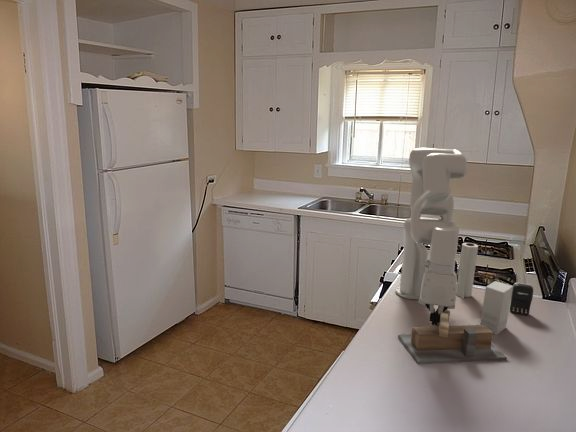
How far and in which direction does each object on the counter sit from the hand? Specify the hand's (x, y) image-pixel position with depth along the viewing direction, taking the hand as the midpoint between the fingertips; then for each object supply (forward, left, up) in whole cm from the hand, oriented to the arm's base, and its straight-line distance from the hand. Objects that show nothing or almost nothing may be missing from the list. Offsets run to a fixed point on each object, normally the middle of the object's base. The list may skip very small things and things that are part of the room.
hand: (434, 323), depth 144 cm
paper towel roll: (-41, +32, -9) cm, 53 cm away
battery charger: (-23, +45, -9) cm, 51 cm away
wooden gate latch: (+1, +6, -8) cm, 10 cm away
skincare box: (-12, +28, -9) cm, 32 cm away
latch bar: (-1, +4, -1) cm, 4 cm away
